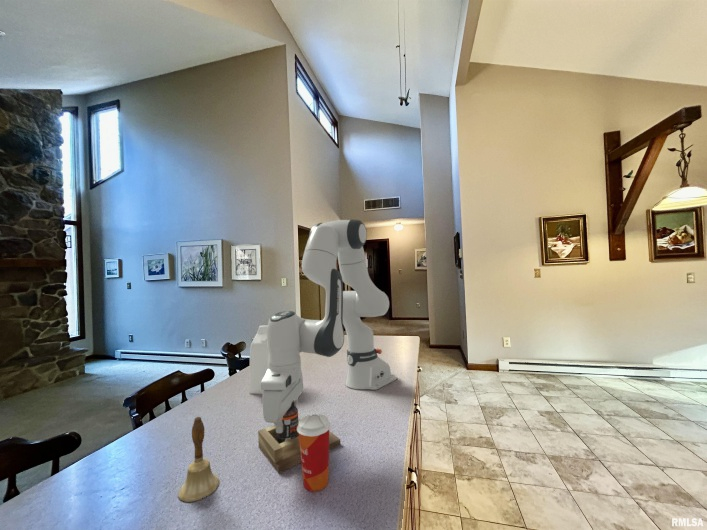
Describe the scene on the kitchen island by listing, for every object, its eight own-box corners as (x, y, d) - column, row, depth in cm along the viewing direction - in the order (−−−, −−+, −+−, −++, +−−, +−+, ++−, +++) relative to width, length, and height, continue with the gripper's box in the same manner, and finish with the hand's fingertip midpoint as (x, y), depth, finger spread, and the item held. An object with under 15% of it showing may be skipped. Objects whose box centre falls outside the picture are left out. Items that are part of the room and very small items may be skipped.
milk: (287, 382, 132) (284, 322, 132) (277, 393, 120) (275, 328, 120) (260, 382, 133) (258, 323, 133) (249, 393, 121) (246, 328, 122)
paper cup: (300, 473, 72) (298, 414, 72) (332, 469, 73) (330, 411, 73) (297, 497, 64) (294, 431, 64) (333, 493, 65) (330, 428, 65)
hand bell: (225, 474, 73) (222, 408, 73) (209, 501, 64) (207, 426, 65) (190, 477, 72) (187, 410, 73) (170, 503, 64) (167, 428, 64)
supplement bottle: (293, 450, 79) (292, 406, 79) (273, 448, 80) (271, 405, 80) (302, 437, 85) (300, 397, 85) (282, 435, 86) (281, 396, 86)
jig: (315, 424, 94) (315, 410, 94) (340, 444, 83) (339, 428, 83) (258, 447, 84) (258, 430, 84) (278, 473, 72) (277, 454, 72)
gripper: (287, 360, 93) (289, 404, 93) (257, 385, 73) (259, 443, 73) (307, 360, 92) (309, 405, 92) (281, 386, 72) (284, 444, 72)
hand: (286, 422), depth 82 cm, fingers open, 8 cm apart
